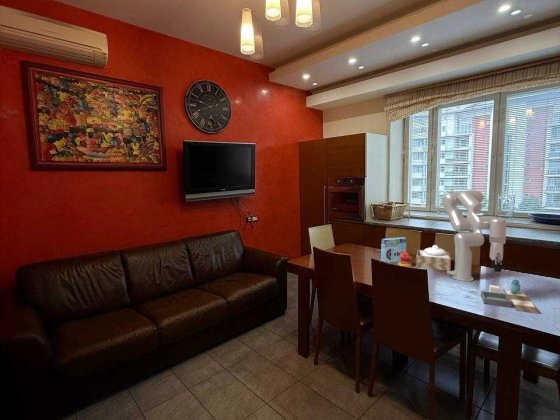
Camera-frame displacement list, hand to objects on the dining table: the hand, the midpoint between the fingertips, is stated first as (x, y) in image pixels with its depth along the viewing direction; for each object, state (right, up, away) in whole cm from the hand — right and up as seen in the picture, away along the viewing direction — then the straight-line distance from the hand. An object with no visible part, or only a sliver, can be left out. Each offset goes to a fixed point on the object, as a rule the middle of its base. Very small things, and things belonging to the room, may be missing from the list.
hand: (496, 269), depth 173 cm
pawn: (+13, -14, +2) cm, 19 cm away
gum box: (-38, -10, +58) cm, 70 cm away
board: (+7, -16, -9) cm, 19 cm away
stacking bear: (-39, -13, +33) cm, 52 cm away
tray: (-7, -16, -9) cm, 20 cm away
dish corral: (-5, -9, +62) cm, 63 cm away
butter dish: (-4, -9, +63) cm, 63 cm away
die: (0, -15, +2) cm, 15 cm away
